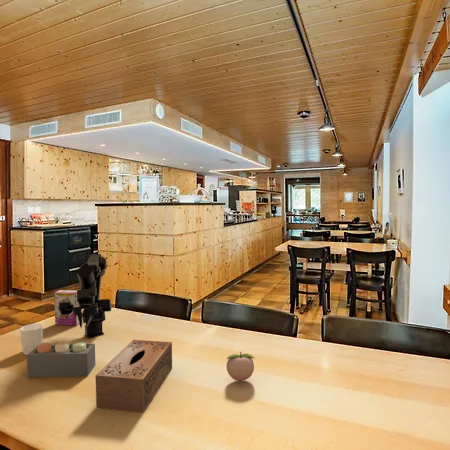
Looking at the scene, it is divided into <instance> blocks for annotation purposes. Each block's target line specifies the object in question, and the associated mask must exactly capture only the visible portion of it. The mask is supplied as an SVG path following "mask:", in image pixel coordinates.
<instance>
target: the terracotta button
mask: <svg viewBox="0 0 450 450" xmlns="http://www.w3.org/2000/svg"><path fill="white" fill-rule="evenodd" d="M52 345H53V344H52V342H51V343H50V342H42V344H40V345H38V346H37V353H49V352H50V351H51V350H52Z"/></svg>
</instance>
